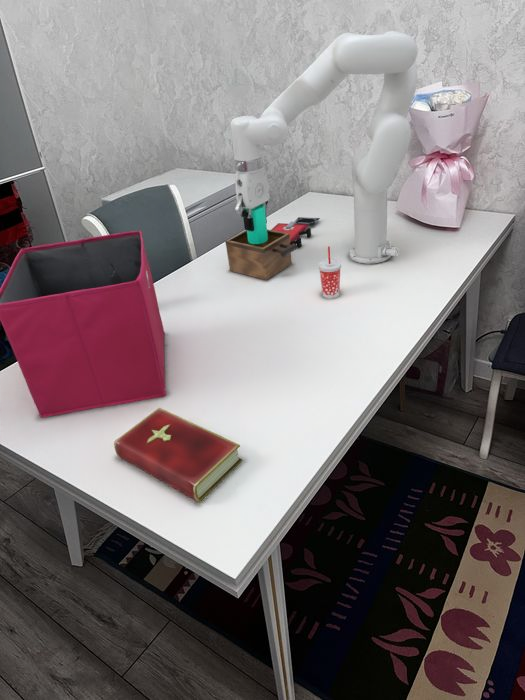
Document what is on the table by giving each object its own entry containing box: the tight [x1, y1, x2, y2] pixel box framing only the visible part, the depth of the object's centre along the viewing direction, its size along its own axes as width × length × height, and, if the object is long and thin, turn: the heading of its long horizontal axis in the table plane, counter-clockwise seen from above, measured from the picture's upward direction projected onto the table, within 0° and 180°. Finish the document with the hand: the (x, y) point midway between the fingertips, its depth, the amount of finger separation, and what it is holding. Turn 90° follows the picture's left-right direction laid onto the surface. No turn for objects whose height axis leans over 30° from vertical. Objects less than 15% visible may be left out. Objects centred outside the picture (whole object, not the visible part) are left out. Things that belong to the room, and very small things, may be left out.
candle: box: [246, 204, 268, 244], centre depth 164 cm, size 6×6×12 cm
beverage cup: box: [317, 246, 342, 300], centre depth 148 cm, size 6×6×14 cm
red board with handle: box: [270, 216, 321, 249], centre depth 190 cm, size 30×3×15 cm
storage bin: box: [0, 230, 167, 419], centre depth 123 cm, size 28×29×28 cm
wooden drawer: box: [224, 228, 298, 281], centre depth 167 cm, size 20×13×10 cm, turn 51°
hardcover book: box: [113, 407, 243, 503], centre depth 103 cm, size 12×21×4 cm, turn 52°
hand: (255, 226), depth 164 cm, fingers closed on candle, 5 cm apart
